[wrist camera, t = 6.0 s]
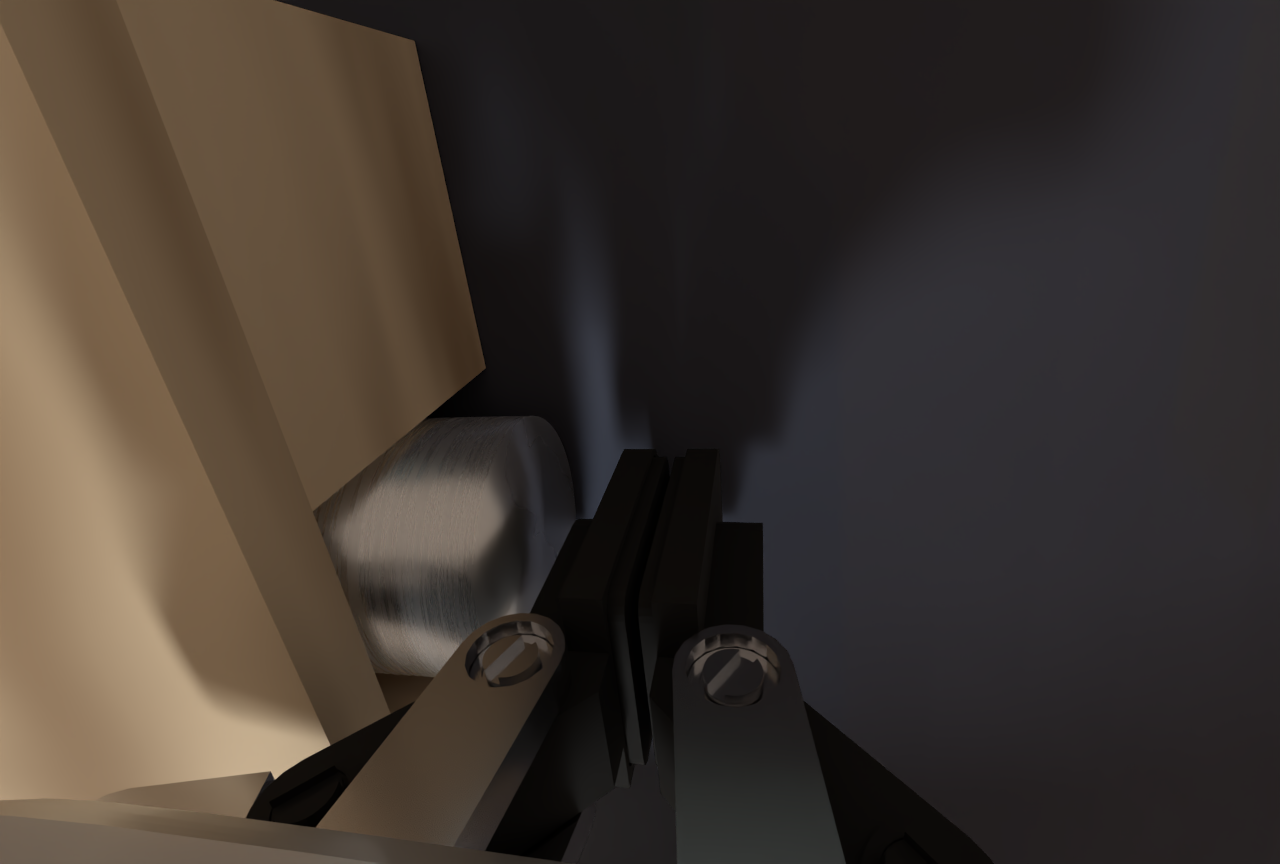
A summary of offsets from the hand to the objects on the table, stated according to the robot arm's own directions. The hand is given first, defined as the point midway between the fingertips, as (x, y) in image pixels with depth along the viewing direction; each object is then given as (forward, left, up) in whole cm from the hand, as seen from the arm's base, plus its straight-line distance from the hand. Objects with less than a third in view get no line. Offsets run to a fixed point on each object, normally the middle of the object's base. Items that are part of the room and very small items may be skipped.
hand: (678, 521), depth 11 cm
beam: (+6, +4, -1) cm, 7 cm away
